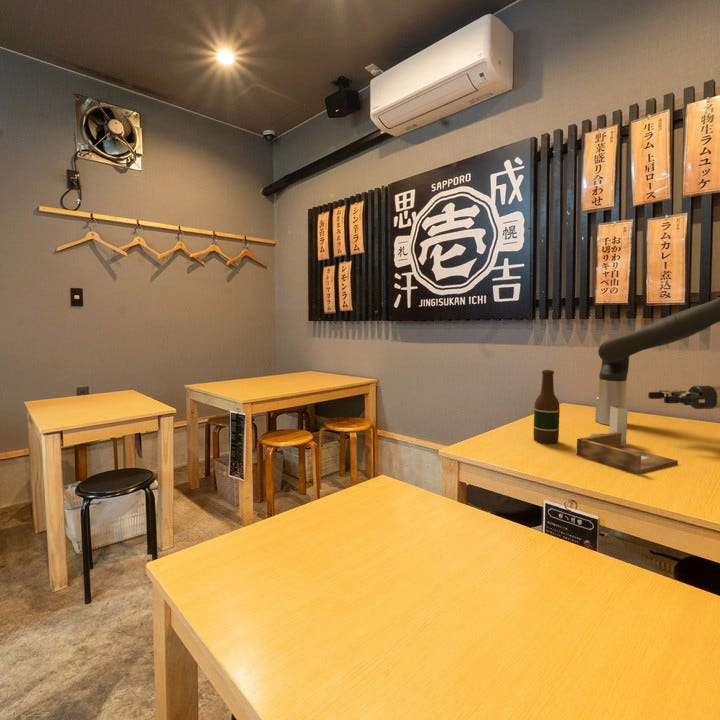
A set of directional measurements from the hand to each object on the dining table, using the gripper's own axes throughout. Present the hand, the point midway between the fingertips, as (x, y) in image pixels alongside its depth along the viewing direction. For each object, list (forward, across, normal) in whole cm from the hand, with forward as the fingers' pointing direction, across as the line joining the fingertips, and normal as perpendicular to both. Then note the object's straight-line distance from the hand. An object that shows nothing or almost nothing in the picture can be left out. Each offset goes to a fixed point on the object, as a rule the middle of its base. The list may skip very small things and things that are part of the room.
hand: (656, 397), depth 138 cm
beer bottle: (+34, -1, +15) cm, 37 cm away
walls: (+18, +17, +15) cm, 29 cm away
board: (+18, +17, +15) cm, 29 cm away
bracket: (+15, 0, +15) cm, 21 cm away
